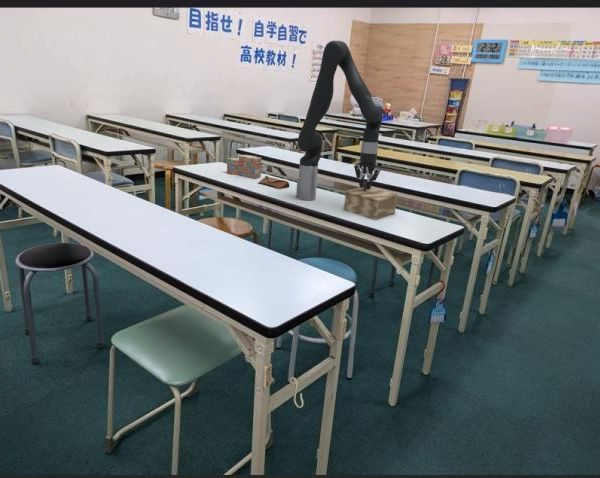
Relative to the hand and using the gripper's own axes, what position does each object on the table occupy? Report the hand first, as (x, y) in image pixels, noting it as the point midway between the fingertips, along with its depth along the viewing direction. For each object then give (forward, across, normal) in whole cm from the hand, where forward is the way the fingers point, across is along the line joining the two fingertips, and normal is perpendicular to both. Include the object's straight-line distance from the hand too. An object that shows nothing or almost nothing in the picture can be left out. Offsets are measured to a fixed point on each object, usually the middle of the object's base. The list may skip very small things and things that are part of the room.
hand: (364, 188), depth 206 cm
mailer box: (+11, +4, 0) cm, 11 cm away
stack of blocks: (+11, -88, 0) cm, 88 cm away
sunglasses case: (+11, -60, -2) cm, 61 cm away
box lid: (+3, +4, 0) cm, 5 cm away
